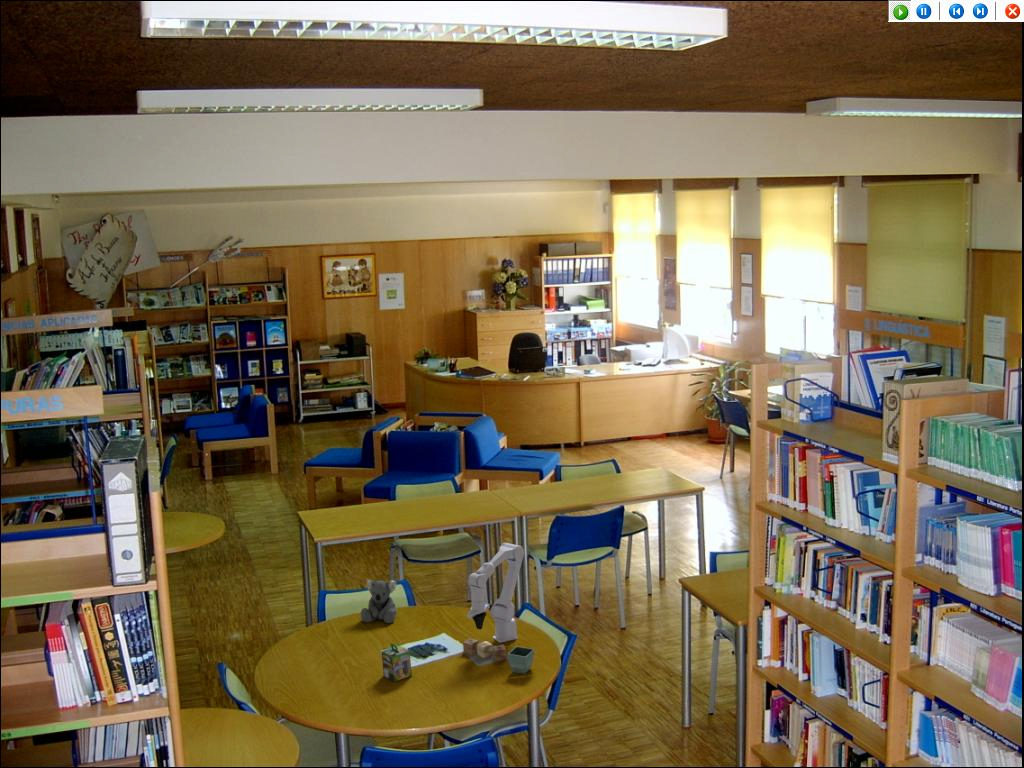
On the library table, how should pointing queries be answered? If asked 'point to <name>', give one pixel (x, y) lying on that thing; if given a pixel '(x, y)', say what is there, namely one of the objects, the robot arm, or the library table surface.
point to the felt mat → (481, 659)
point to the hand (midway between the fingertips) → (479, 628)
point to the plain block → (484, 649)
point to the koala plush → (380, 602)
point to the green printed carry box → (396, 663)
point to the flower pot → (521, 659)
